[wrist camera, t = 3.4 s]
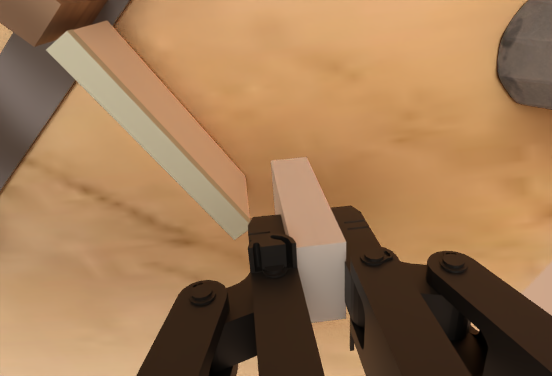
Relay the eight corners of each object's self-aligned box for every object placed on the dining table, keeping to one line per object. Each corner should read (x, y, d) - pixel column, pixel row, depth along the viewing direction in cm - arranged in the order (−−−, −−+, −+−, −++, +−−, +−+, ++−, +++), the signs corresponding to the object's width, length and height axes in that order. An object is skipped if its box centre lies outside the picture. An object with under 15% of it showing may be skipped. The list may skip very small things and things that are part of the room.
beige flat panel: (92, 33, 27) (45, 49, 20) (108, 19, 27) (66, 30, 20) (232, 185, 32) (234, 240, 26) (246, 175, 32) (252, 227, 25)
